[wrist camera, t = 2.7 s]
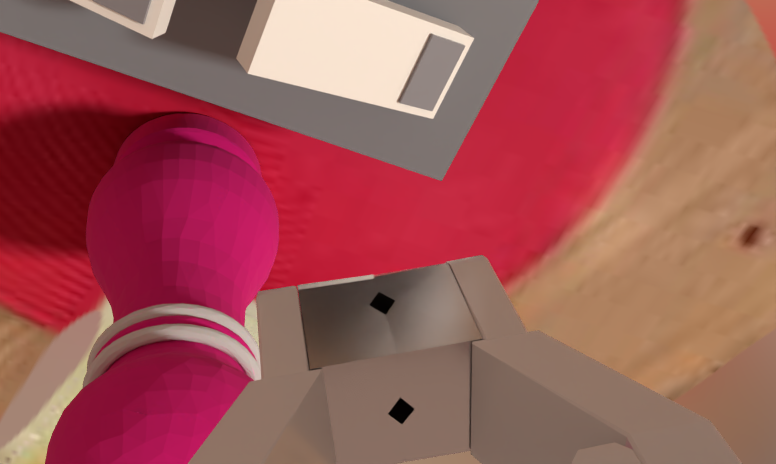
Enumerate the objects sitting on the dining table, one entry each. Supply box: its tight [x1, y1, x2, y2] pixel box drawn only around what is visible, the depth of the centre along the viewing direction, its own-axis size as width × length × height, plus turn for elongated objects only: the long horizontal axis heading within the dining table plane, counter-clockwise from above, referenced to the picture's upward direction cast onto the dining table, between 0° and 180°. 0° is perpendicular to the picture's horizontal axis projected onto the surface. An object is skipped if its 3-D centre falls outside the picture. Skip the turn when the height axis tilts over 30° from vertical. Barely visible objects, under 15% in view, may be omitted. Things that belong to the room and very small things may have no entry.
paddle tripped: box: [236, 0, 474, 119], centre depth 22 cm, size 3×7×1 cm, turn 65°
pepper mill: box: [45, 113, 279, 464], centre depth 24 cm, size 7×7×20 cm
